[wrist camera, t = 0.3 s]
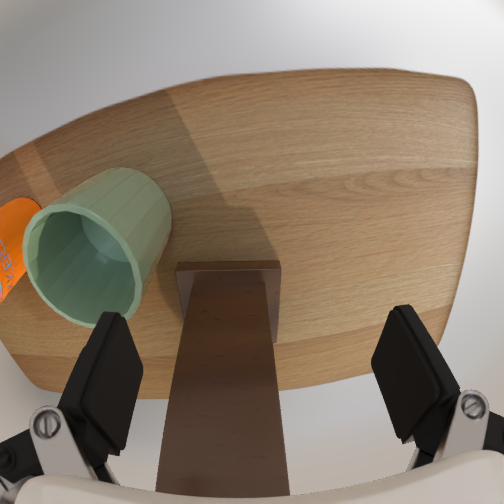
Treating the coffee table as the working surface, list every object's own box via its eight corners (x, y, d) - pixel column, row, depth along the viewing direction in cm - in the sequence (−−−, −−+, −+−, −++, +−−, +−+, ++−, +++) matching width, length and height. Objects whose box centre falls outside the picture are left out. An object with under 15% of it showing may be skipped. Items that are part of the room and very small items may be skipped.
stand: (178, 262, 29) (104, 598, 3) (279, 260, 29) (342, 610, 3) (190, 335, 33) (162, 589, 8) (275, 333, 34) (306, 591, 8)
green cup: (71, 173, 24) (7, 211, 15) (166, 161, 24) (125, 197, 15) (91, 263, 28) (49, 323, 20) (178, 262, 29) (155, 332, 20)
